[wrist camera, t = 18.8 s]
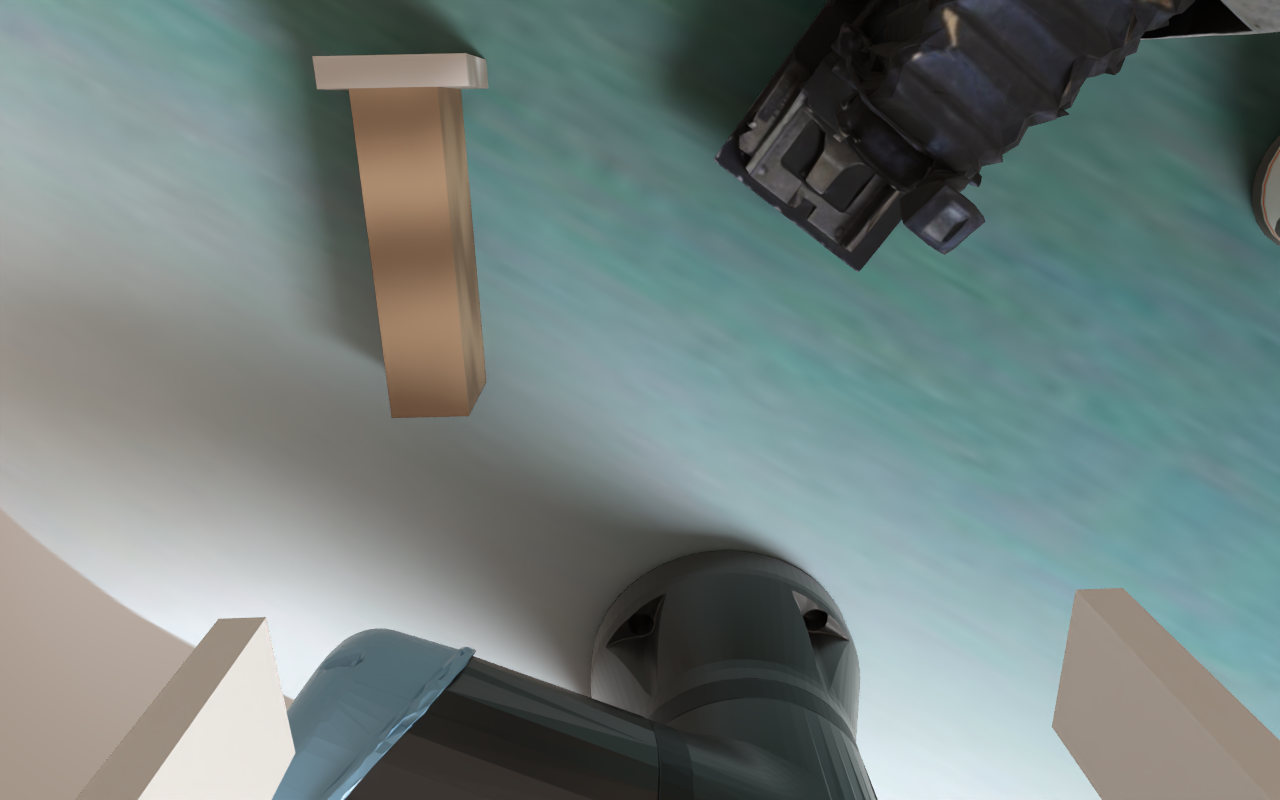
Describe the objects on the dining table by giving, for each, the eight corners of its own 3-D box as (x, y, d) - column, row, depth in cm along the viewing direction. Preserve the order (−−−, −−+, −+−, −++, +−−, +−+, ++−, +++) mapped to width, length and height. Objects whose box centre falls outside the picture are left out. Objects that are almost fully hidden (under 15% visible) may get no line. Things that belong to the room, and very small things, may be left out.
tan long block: (510, 380, 42) (496, 415, 37) (393, 383, 42) (364, 418, 37) (486, 59, 37) (465, 53, 32) (352, 62, 37) (312, 56, 32)
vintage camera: (693, 142, 39) (748, 210, 20) (919, -173, 34) (1261, -459, 16) (847, 261, 41) (1024, 421, 22) (1080, -19, 36) (1545, -109, 18)
